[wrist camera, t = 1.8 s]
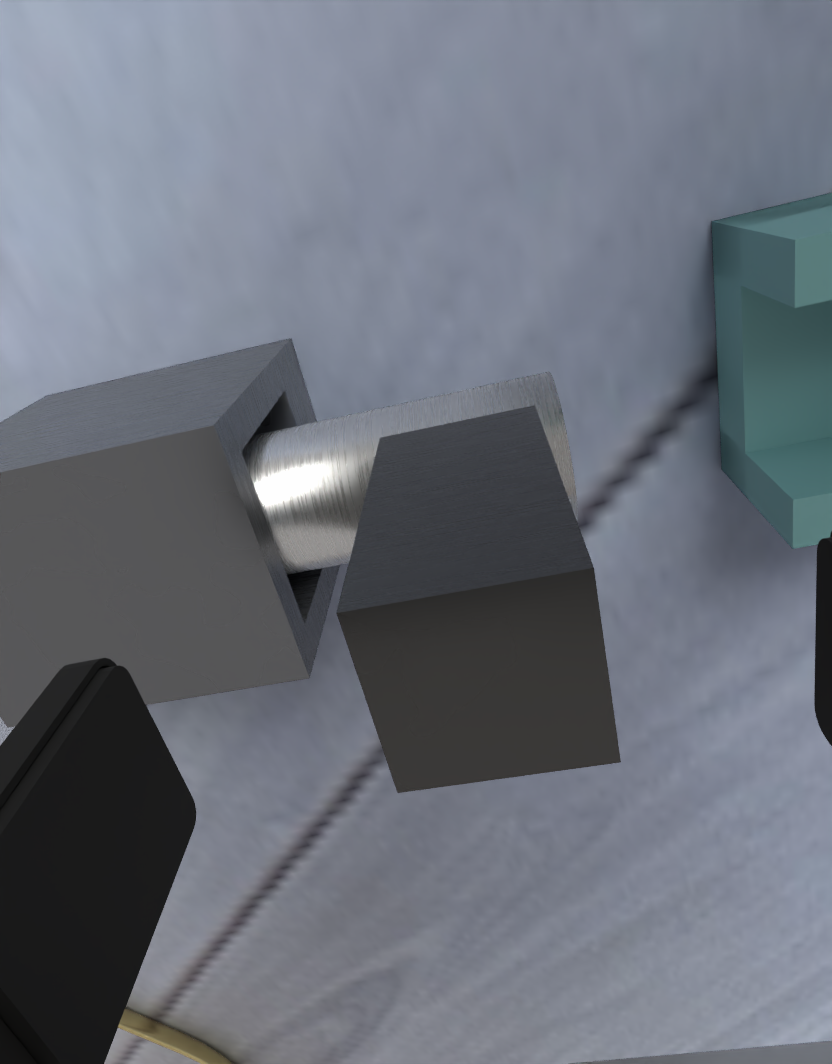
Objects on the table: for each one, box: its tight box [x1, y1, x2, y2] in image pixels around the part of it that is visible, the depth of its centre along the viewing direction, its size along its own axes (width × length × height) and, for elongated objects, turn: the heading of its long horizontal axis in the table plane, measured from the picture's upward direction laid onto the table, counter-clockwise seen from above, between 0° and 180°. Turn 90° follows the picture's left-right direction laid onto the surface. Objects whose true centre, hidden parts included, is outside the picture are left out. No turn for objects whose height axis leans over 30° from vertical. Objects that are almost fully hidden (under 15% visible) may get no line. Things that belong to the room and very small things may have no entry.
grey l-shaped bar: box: [241, 372, 621, 793], centre depth 14 cm, size 18×3×9 cm, turn 103°
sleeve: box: [0, 339, 340, 727], centre depth 17 cm, size 7×6×7 cm
